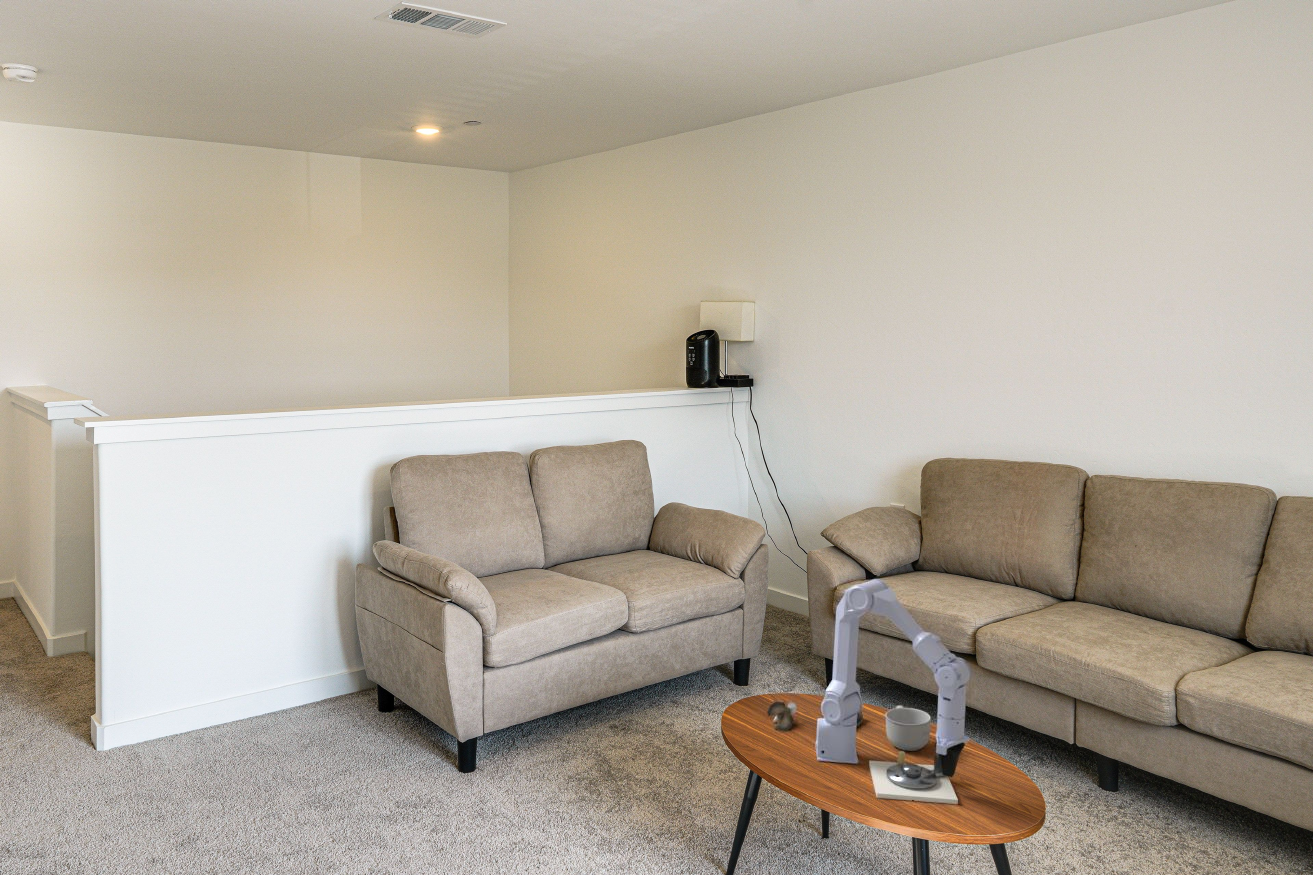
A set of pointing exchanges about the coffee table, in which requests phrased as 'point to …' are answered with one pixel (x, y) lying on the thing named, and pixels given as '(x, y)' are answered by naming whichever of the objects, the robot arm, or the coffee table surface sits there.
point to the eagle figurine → (782, 714)
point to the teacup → (907, 728)
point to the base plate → (893, 791)
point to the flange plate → (913, 782)
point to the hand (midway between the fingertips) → (948, 774)
